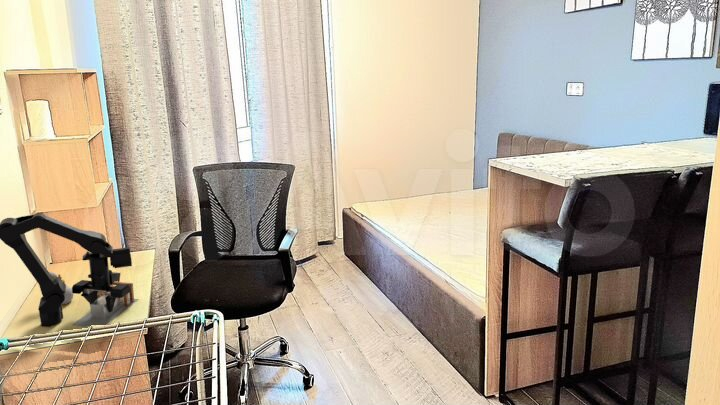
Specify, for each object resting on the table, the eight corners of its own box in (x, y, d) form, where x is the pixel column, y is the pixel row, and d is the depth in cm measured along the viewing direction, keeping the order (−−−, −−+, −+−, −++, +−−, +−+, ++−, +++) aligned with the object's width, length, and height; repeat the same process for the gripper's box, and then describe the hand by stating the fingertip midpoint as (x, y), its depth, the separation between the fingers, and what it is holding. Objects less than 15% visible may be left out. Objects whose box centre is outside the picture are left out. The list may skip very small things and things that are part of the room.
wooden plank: (102, 304, 188) (100, 281, 185) (100, 303, 188) (97, 281, 186) (106, 301, 190) (104, 279, 187) (103, 301, 190) (101, 279, 187)
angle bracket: (132, 302, 188) (131, 284, 186) (109, 299, 189) (108, 282, 188) (134, 301, 189) (132, 283, 187) (111, 298, 190) (109, 280, 189)
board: (101, 330, 170) (101, 328, 169) (71, 327, 171) (71, 325, 171) (139, 301, 191) (139, 299, 191) (112, 298, 192) (112, 296, 192)
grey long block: (105, 318, 176) (103, 304, 174) (91, 317, 176) (89, 303, 175) (130, 300, 190) (129, 287, 189) (117, 298, 191) (115, 285, 189)
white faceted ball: (70, 307, 184) (66, 277, 181) (40, 309, 182) (36, 278, 179) (77, 298, 191) (74, 269, 188) (49, 299, 190) (45, 270, 186)
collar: (127, 306, 185) (125, 288, 183) (103, 304, 186) (102, 285, 184) (128, 305, 186) (127, 287, 184) (105, 302, 187) (103, 284, 185)
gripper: (137, 263, 181) (141, 303, 185) (89, 259, 184) (94, 298, 188) (119, 275, 171) (123, 317, 175) (68, 270, 173) (73, 312, 177)
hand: (103, 311), depth 179 cm, fingers closed on grey long block, 5 cm apart
